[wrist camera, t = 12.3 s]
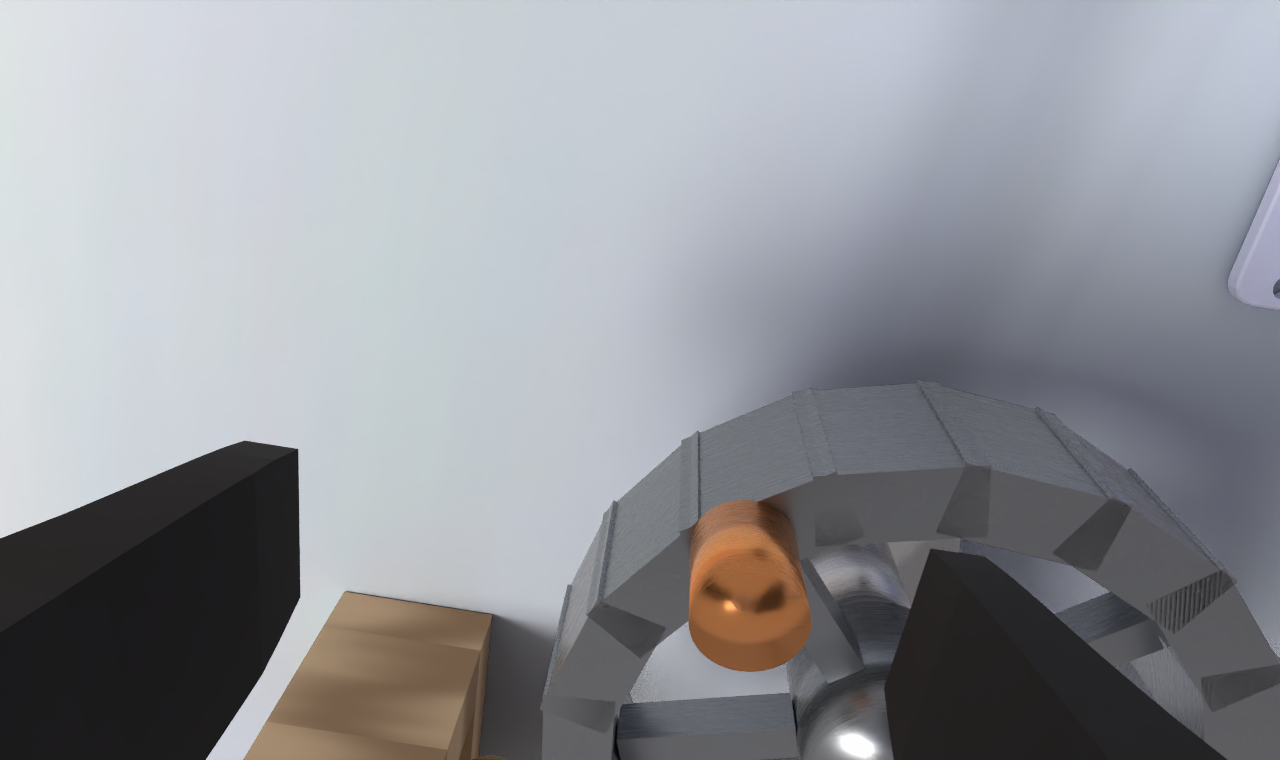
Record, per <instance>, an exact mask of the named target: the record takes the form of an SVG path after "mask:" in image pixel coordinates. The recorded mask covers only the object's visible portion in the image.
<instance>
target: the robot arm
mask: <svg viewBox="0 0 1280 760" xmlns="http://www.w3.org/2000/svg"><path fill="white" fill-rule="evenodd" d="M1279 279H1280V160H1279V162H1278V164H1277V167H1276V169H1275V171H1274V174H1273V176H1272V178H1271V180H1270V183H1269V185H1268V187H1267V190H1266V192H1265V194H1264V197H1263V199H1262V201H1261V204H1260V206H1259V208H1258V210H1257V213H1256V215H1255V217H1254V220H1253V222H1252V224H1251V227H1250V229H1249V231H1248V234H1247V236H1246V238H1245V240H1244V243H1243V245H1242V247H1241V250H1240V252H1239V254H1238V257H1237V259H1236V261H1235V264H1234V266H1233V268H1232V270H1231V273H1230V275H1229V279H1228V289H1229V292H1230V294H1231V295H1232V296H1233V297H1234V298H1235V299H1237V300H1239V301H1241V302H1243V303H1245V304H1248V305H1250V306H1255V307H1262V308H1268V309H1274V310H1280V292H1278V293H1276V294H1273V287H1274V285H1275V283H1276V282H1277V281H1278V280H1279ZM299 598H300V546H299V476H298V449H294V448H288V447H281V446H275V445H269V444H262V443H256V442H250V441H242V442H239V443H236V444H233V445H230V446H227V447H224V448H221V449H219V450H216V451H214V452H211V453H208V454H206V455H203V456H201V457H199V458H196V459H194V460H191V461H189V462H186V463H184V464H182V465H179V466H177V467H174V468H172V469H170V470H167V471H165V472H163V473H160V474H158V475H156V476H153V477H151V478H149V479H146V480H144V481H142V482H139V483H137V484H134V485H132V486H130V487H127V488H125V489H123V490H120V491H118V492H115V493H113V494H111V495H108V496H106V497H104V498H101V499H99V500H96V501H94V502H92V503H89V504H87V505H85V506H82V507H80V508H77V509H75V510H73V511H70V512H68V513H65V514H63V515H60V516H58V517H55V518H53V519H50V520H47V521H45V522H42V523H40V524H37V525H34V526H32V527H29V528H27V529H24V530H21V531H19V532H16V533H13V534H11V535H8V536H6V537H3V538H0V760H206V758H207V757H208V755H209V754H210V752H211V751H212V749H213V748H214V746H215V745H216V743H217V742H218V740H219V739H220V738H221V736H222V735H223V733H224V731H225V730H226V728H227V727H228V725H229V724H230V722H231V721H232V719H233V718H234V716H235V715H236V713H237V712H238V710H239V709H240V707H241V706H242V704H243V703H244V701H245V700H246V698H247V697H248V695H249V694H250V692H251V691H252V689H253V688H254V686H255V684H256V683H257V681H258V680H259V678H260V677H261V675H262V674H263V672H264V670H265V668H266V666H267V664H268V662H269V660H270V658H271V656H272V654H273V652H274V650H275V648H276V646H277V644H278V642H279V640H280V638H281V636H282V634H283V632H284V630H285V628H286V626H287V624H288V622H289V619H290V617H291V615H292V613H293V611H294V609H295V607H296V605H297V603H298V601H299ZM884 693H885V701H886V709H887V717H888V725H889V733H890V739H891V746H892V752H893V759H894V760H1227V759H1226V758H1225V757H1224V756H1222V755H1221V754H1220V753H1219V752H1217V751H1216V750H1215V749H1214V748H1212V747H1211V746H1210V745H1208V744H1207V743H1206V742H1205V741H1203V740H1202V739H1201V738H1200V737H1198V736H1197V735H1196V734H1195V733H1193V732H1192V731H1191V730H1189V729H1188V728H1187V727H1186V726H1184V725H1183V724H1182V723H1181V722H1179V721H1178V720H1177V719H1176V718H1174V717H1173V716H1172V715H1171V714H1170V713H1168V712H1167V711H1166V710H1165V709H1163V708H1162V707H1161V706H1160V705H1159V704H1157V703H1156V702H1155V701H1154V700H1153V699H1151V698H1150V697H1149V696H1148V695H1147V694H1145V693H1144V692H1143V691H1142V690H1141V689H1139V688H1138V687H1137V686H1136V685H1135V684H1134V683H1132V682H1131V681H1130V680H1129V679H1128V678H1126V677H1125V676H1124V675H1123V674H1122V673H1121V672H1119V671H1118V670H1117V669H1116V668H1115V667H1114V666H1113V665H1111V664H1110V663H1109V662H1108V661H1107V660H1106V659H1104V658H1103V657H1102V656H1101V655H1100V654H1099V653H1097V652H1096V651H1095V650H1094V649H1093V648H1092V647H1091V646H1089V645H1088V644H1087V643H1086V642H1085V641H1084V640H1083V639H1081V638H1080V637H1079V636H1078V635H1077V634H1076V633H1075V632H1074V631H1072V630H1071V629H1070V628H1069V627H1068V626H1067V625H1066V624H1064V623H1063V622H1062V621H1061V620H1060V619H1059V618H1058V617H1056V616H1055V615H1054V614H1053V613H1052V612H1051V611H1050V610H1049V609H1047V608H1046V607H1045V606H1044V605H1043V604H1042V603H1041V602H1039V601H1038V600H1037V599H1036V598H1035V597H1034V596H1032V595H1031V594H1030V593H1029V592H1028V591H1027V590H1026V589H1024V588H1023V587H1022V586H1021V585H1020V584H1019V583H1017V582H1016V581H1015V580H1014V579H1013V578H1011V577H1010V576H1009V575H1008V574H1006V573H1005V572H1004V571H1003V570H1001V569H1000V568H999V567H998V566H996V565H995V564H994V563H992V562H991V561H989V560H988V559H987V558H985V557H983V556H977V555H970V554H964V553H957V552H951V551H945V550H938V549H932V548H930V551H929V554H928V557H927V560H926V563H925V566H924V569H923V572H922V575H921V578H920V581H919V584H918V587H917V590H916V593H915V596H914V599H913V602H912V605H911V608H910V611H909V614H908V617H907V620H906V623H905V626H904V629H903V632H902V635H901V638H900V641H899V644H898V647H897V650H896V653H895V656H894V659H893V662H892V665H891V668H890V671H889V674H888V677H887V680H886V683H885V686H884Z"/></svg>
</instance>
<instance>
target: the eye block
mask: <svg viewBox="0 0 1280 760" xmlns="http://www.w3.org/2000/svg"><path fill="white" fill-rule="evenodd" d="M491 625H492V615H490V614H484V613H477V612H471V611H465V610H458V609H452V608H445V607H439V606H433V605H426V604H420V603H413V602H407V601H401V600H394V599H388V598H381V597H375V596H369V595H362V594H356V593H349V592H344V593H343V595H342V596H341V598H340V600H339V601H338V603H337V605H336V606H335V608H334V610H333V611H332V613H331V615H330V616H329V618H328V620H327V621H326V623H325V625H324V626H323V628H322V630H321V631H320V633H319V635H318V636H317V638H316V640H315V641H314V643H313V645H312V646H311V648H310V650H309V651H308V653H307V655H306V656H305V658H304V660H303V661H302V663H301V665H300V666H299V668H298V670H297V671H296V673H295V675H294V676H293V678H292V680H291V681H290V683H289V685H288V686H287V688H286V690H285V691H284V693H283V695H282V696H281V698H280V700H279V701H278V703H277V705H276V706H275V708H274V710H273V711H272V713H271V715H270V716H269V718H268V720H267V721H266V723H265V725H264V726H263V728H262V730H261V731H260V733H259V735H258V736H257V738H256V740H255V741H254V743H253V745H252V746H251V748H250V750H249V751H248V753H247V755H246V756H245V758H244V760H471V759H474V758H477V757H479V750H480V740H481V729H482V719H483V708H484V698H485V688H486V677H487V667H488V656H489V646H490V635H491Z"/></svg>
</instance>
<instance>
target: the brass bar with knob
mask: <svg viewBox="0 0 1280 760" xmlns="http://www.w3.org/2000/svg"><path fill="white" fill-rule="evenodd" d="M471 760H509V759H506V758H503V757H500V756H493V755H487V756H481V757H477V758H474V759H471Z"/></svg>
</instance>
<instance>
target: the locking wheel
mask: <svg viewBox="0 0 1280 760" xmlns="http://www.w3.org/2000/svg"><path fill="white" fill-rule="evenodd" d="M958 538H961V539H965V540H969V541H973V542H977V543H981V544H985V545H989V546H993V547H997V548H1001V549H1006V550H1010V551H1014V552H1018V553H1022V554H1026V555H1030V556H1034V557H1038V558H1042V559H1046V560H1050V561H1054V562H1058V563H1062V564H1067V565H1071V566H1073V567H1074V568H1076V569H1077V570H1079V571H1080V572H1082V573H1084V574H1085V575H1087V576H1088V577H1090V578H1091V579H1093V580H1094V581H1096V582H1097V583H1099V584H1100V585H1102V586H1103V587H1105V588H1106V589H1108V590H1109V591H1111V592H1109V593H1107V594H1104V595H1101V596H1099V597H1096V598H1094V599H1091V600H1089V601H1086V602H1084V603H1081V604H1079V605H1076V606H1074V607H1071V608H1069V609H1066V610H1064V611H1061V612H1059V613H1056V614H1054V615H1055V616H1056V617H1058V618H1059V619H1060V620H1061V621H1062V622H1063V623H1064V624H1066V625H1067V626H1068V627H1069V628H1070V629H1071V630H1072V631H1074V632H1075V633H1076V634H1077V635H1078V636H1079V637H1080V638H1081V639H1083V640H1084V641H1085V642H1086V643H1087V644H1088V645H1089V646H1091V647H1092V648H1093V649H1094V650H1095V651H1096V652H1097V653H1099V654H1100V655H1101V656H1102V657H1103V658H1104V659H1106V660H1107V661H1108V662H1109V663H1110V664H1111V665H1113V666H1114V667H1117V666H1119V669H1118V671H1119V672H1121V673H1122V674H1123V675H1124V676H1125V677H1126V678H1128V679H1129V680H1130V681H1131V682H1132V683H1134V684H1135V685H1136V686H1137V687H1138V688H1139V689H1141V690H1142V691H1143V692H1144V693H1145V694H1147V695H1148V696H1149V697H1150V698H1151V699H1153V700H1154V701H1155V702H1156V703H1157V704H1159V705H1160V706H1161V707H1162V708H1163V709H1165V710H1166V711H1167V712H1168V713H1170V714H1171V715H1172V716H1173V717H1174V718H1176V719H1177V720H1178V721H1179V722H1181V723H1182V724H1183V725H1184V726H1186V727H1187V728H1188V729H1189V730H1191V731H1192V732H1193V733H1195V734H1196V735H1197V736H1198V737H1200V738H1201V739H1202V740H1203V741H1205V742H1206V743H1207V744H1208V745H1210V746H1211V747H1212V748H1214V749H1215V750H1216V751H1217V752H1219V753H1220V754H1221V755H1222V756H1224V757H1225V758H1226V759H1227V760H1280V658H1279V657H1278V656H1277V655H1276V654H1275V653H1274V652H1273V650H1272V649H1271V648H1270V646H1269V644H1268V642H1267V641H1266V639H1265V637H1264V635H1263V634H1262V632H1261V630H1260V628H1259V627H1258V625H1257V623H1256V621H1255V620H1254V618H1253V616H1252V614H1251V613H1250V611H1249V609H1248V607H1247V606H1246V604H1245V602H1244V600H1243V599H1242V597H1241V595H1240V593H1239V592H1238V590H1237V588H1236V586H1235V585H1234V584H1236V583H1237V582H1238V581H1237V580H1236V579H1235V578H1234V577H1233V576H1232V575H1231V574H1230V573H1229V572H1228V571H1227V570H1226V569H1225V567H1224V566H1223V565H1222V564H1221V563H1220V562H1219V561H1218V560H1217V559H1216V558H1215V557H1214V556H1213V555H1212V554H1211V553H1210V552H1209V551H1208V549H1207V548H1206V547H1205V546H1204V545H1203V544H1202V543H1201V542H1200V541H1199V540H1198V539H1197V538H1196V537H1195V536H1194V535H1193V534H1192V532H1191V531H1190V530H1189V529H1188V528H1187V527H1186V526H1185V525H1184V524H1183V523H1182V522H1181V521H1180V520H1179V519H1178V518H1177V517H1176V516H1175V514H1174V513H1173V512H1172V511H1171V510H1170V509H1169V508H1168V507H1167V506H1166V505H1165V504H1164V503H1163V502H1162V501H1161V500H1160V499H1159V498H1158V496H1157V495H1156V494H1155V493H1154V492H1153V491H1152V490H1151V489H1150V488H1149V487H1148V486H1147V485H1146V484H1145V483H1144V482H1143V481H1142V479H1141V478H1140V477H1139V476H1138V475H1137V474H1136V473H1135V472H1134V471H1133V470H1132V469H1129V470H1127V469H1126V468H1124V467H1123V466H1121V465H1120V464H1118V463H1117V462H1116V461H1114V460H1113V459H1111V458H1110V457H1108V456H1107V455H1106V454H1104V453H1103V452H1101V451H1100V450H1098V449H1097V448H1096V447H1094V446H1093V445H1091V444H1090V443H1088V442H1087V441H1086V440H1084V439H1083V438H1081V437H1080V436H1078V435H1077V434H1076V433H1074V432H1073V431H1071V430H1070V429H1068V428H1067V427H1066V426H1064V425H1063V424H1062V422H1061V421H1060V420H1059V419H1058V418H1057V417H1056V416H1055V415H1054V414H1051V413H1047V412H1044V411H1043V410H1041V409H1040V408H1039V407H1037V408H1036V409H1031V408H1027V407H1023V406H1019V405H1015V404H1011V403H1007V402H1003V401H999V400H995V399H991V398H987V397H983V396H979V395H976V394H972V393H968V392H964V391H960V390H956V389H952V388H948V387H944V386H940V384H939V383H938V381H937V382H924V381H920V380H917V382H916V383H909V384H896V385H882V386H869V387H855V388H842V389H828V390H814V391H812V389H811V388H809V389H807V390H804V391H801V392H792V396H789V397H787V398H785V399H782V400H780V401H777V402H775V403H772V404H770V405H767V406H765V407H762V408H760V409H758V410H755V411H753V412H750V413H748V414H745V415H743V416H740V417H738V418H735V419H733V420H731V421H728V422H726V423H723V424H721V425H718V426H716V427H713V428H711V429H708V430H706V431H704V432H701V433H700V432H699V431H697V432H696V433H695V434H693V435H692V436H691V437H689V438H686V439H684V440H682V445H681V446H680V447H679V448H678V449H676V450H675V451H674V452H673V453H672V454H671V455H670V456H668V457H667V458H666V459H665V460H664V461H663V462H662V463H661V464H659V465H658V466H657V467H656V468H655V469H654V470H653V471H651V472H650V473H649V474H648V475H647V476H646V477H645V478H644V479H642V480H641V481H640V482H639V483H638V484H637V485H636V486H634V487H633V488H632V489H631V490H630V491H629V492H628V493H627V494H625V495H624V496H623V497H622V498H621V499H620V500H619V501H617V502H616V501H614V500H613V502H612V504H611V506H610V508H609V509H608V510H607V511H606V512H605V513H604V516H603V521H602V524H601V526H600V528H599V530H598V532H597V534H596V536H595V538H594V540H593V542H592V544H591V546H590V548H589V550H588V552H587V554H586V556H585V558H584V560H583V562H582V564H581V566H580V568H579V570H578V572H577V574H576V576H575V578H574V580H573V582H572V584H571V585H568V586H567V591H566V595H565V598H564V602H563V606H562V611H561V615H560V620H559V624H558V629H557V633H556V638H555V642H554V647H553V651H552V656H551V660H550V665H549V669H548V674H547V678H546V683H545V687H544V692H543V696H542V701H541V705H540V710H542V711H543V728H542V760H764V759H781V758H797V757H798V755H799V760H894V759H893V752H892V746H891V739H890V733H889V725H888V717H887V709H886V701H885V693H884V686H885V683H886V680H887V677H888V674H889V671H890V668H891V665H892V662H893V659H894V656H895V653H896V650H897V647H898V644H899V641H900V638H901V635H902V632H903V629H904V626H905V623H906V620H907V617H908V614H909V611H910V609H909V608H907V607H904V606H901V605H898V604H893V603H888V602H879V601H864V602H856V603H850V604H846V605H842V606H838V604H837V603H836V601H835V600H834V598H833V596H832V595H831V593H830V592H829V590H828V588H827V587H826V585H825V584H824V582H823V580H822V579H821V577H820V576H819V574H818V572H817V571H816V569H815V567H814V566H813V564H812V563H811V561H810V559H809V558H808V557H810V556H813V555H816V554H818V553H821V552H824V551H827V550H829V549H832V548H835V547H838V546H841V545H852V544H870V543H887V542H905V541H923V540H940V539H958ZM688 620H689V630H690V634H691V637H692V639H693V641H694V643H695V645H696V646H697V648H698V649H699V650H700V651H701V652H702V653H703V654H704V655H705V656H706V657H707V658H708V659H710V660H711V661H713V662H715V663H716V664H718V665H720V666H723V667H725V668H729V669H732V670H737V671H746V672H754V671H763V670H767V669H771V668H774V667H777V666H779V665H782V664H784V663H785V662H787V675H788V683H789V690H790V693H780V694H766V695H751V696H736V697H721V698H707V699H692V700H677V701H662V702H648V703H633V701H632V699H631V696H630V693H629V692H630V690H631V689H632V687H633V685H634V683H635V682H636V680H637V678H638V676H639V675H640V673H641V671H642V669H643V668H644V666H645V664H646V662H647V661H648V659H649V657H650V655H651V654H652V652H653V650H654V648H655V647H656V646H657V645H658V644H659V643H660V642H662V641H663V640H664V639H666V638H667V637H668V636H669V635H671V634H672V633H673V632H674V631H676V630H677V629H678V628H680V627H681V626H682V625H683V624H685V623H686V622H687V621H688ZM797 748H798V749H797Z"/></svg>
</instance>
